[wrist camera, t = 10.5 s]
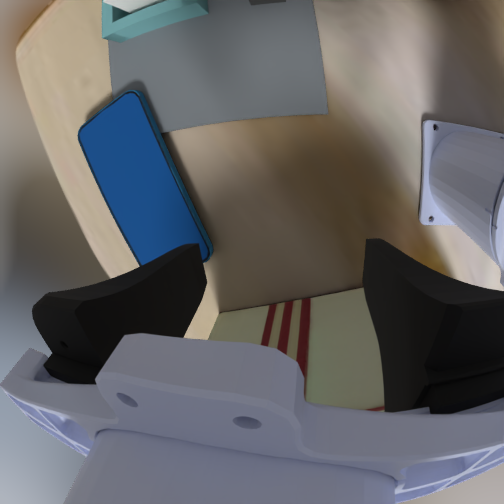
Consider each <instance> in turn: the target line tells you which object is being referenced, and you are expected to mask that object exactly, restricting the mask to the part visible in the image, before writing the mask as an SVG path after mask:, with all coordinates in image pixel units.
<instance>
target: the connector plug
mask: <svg viewBox="0 0 504 504" xmlns="http://www.w3.org/2000/svg"><path fill="white" fill-rule="evenodd" d="M164 1H167V0H103V2H104V3H107V4H110V5H112V6H115V7H117V8H120V9H122V10H125V11H127V12H129V13H132V14H133V13H135V12H137V11H140V10H142V9H145V8H147V7H150V6H153V5H155V4H158V3H161V2H164Z"/></svg>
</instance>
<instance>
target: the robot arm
mask: <svg viewBox="0 0 504 504" xmlns="http://www.w3.org/2000/svg"><path fill="white" fill-rule="evenodd" d="M434 124H435V125H436V127H437V128H436V130H434V129H433V125H434ZM422 129H423V162H422V186H421V200H420V211H419V221H420V222H421V223H422V224H423V225H457V226H458V227H459V228H460V229H461V230H462V231H464V232H465V233H466V234H467V235H468V236H469V237H470V238H471V239H472V240H473V241H474V242H475V243H476V244H477V245H478V246H479V247H480V248H481V249H482V250H483V251H484V252H485V253H486V254H487V255H488V256H489V257H490V258H491V259H492V260H493V261H494V262H495V263H496V264H497V265H498V266H499V267H500V270H501V279H500V283H501V284H502V285H503V287H504V134H502V133H498V132H493V131H489V130H485V129H480V128H475V127H470V126H465V125H460V124H454V123H448V122H441V121H434V120H425V121H424V122H423V125H422ZM500 137H501V139H500ZM430 216H432V219H431V220H428V219H429V217H430ZM362 281H363V287H364V293H365V299H366V303H367V306H368V309H369V312H370V316H371V319H372V322H373V326H374V329H375V332H376V336H377V340H378V344H379V349H380V356H381V364H382V374H383V385H384V412H378V411H368V410H359V409H351V408H343V407H336V406H330V405H323V404H317V403H312V402H306V401H305V398H304V376H303V374H302V372H301V369H300V367H299V364H298V362H296V361H295V360H293V359H292V358H290V357H288V356H287V355H285V354H284V353H282V352H281V351H279V350H278V349H276V348H272V347H267V346H262V345H258V344H253V343H246V342H227V341H212V340H200V339H188V338H183V337H184V335H185V333H186V331H187V329H188V327H189V325H190V323H191V321H192V319H193V317H194V315H195V313H196V311H197V309H198V307H199V305H200V303H201V301H202V298H203V295H204V292H205V288H206V285H207V279H206V275H205V270H204V265H203V261H202V256H201V251H200V246H199V243H191V244H184V245H181V246H179V247H177V248H175V249H173V250H171V251H169V252H167V253H165V254H163V255H161V256H159V257H157V258H156V259H154V260H152V261H150V262H148V263H146V264H144V265H142V266H140V267H138V268H136V269H134V270H132V271H129V272H127V273H125V274H122V275H120V276H117V277H115V278H112V279H109V280H106V281H103V282H100V283H97V284H93V285H89V286H85V287H81V288H76V289H71V290H65V291H58V292H49V293H47V294H45V295H44V296H43V297H42V298H41V299H40V300H39V301H38V302H37V303H36V304H35V305H34V306H33V309H32V314H33V320H34V322H35V325H36V327H37V329H38V331H39V332H40V334H41V335H42V337H43V339H44V341H45V342H46V344H47V345H48V347H49V348H50V350H51V351H52V354H51V356H50V357H49V358H48V357H47V356H46V355H45V354H43V353H41V352H39V351H36V350H34V349H32V348H29V349H28V350H27V351H26V353H25V354H24V355H23V356H22V357H21V359H20V360H19V361H18V362H17V364H16V365H15V366H14V367H13V368H12V370H11V371H10V372H9V374H8V375H7V376H6V377H5V379H4V380H3V381H2V383H1V384H0V387H1V388H2V390H3V391H4V392H5V393H6V394H7V395H8V397H9V398H10V399H11V400H12V401H13V402H14V403H15V404H16V405H17V406H18V408H20V409H21V411H22V412H23V413H24V414H25V415H26V416H27V417H28V418H29V419H30V420H31V421H32V422H33V423H34V424H36V425H38V426H39V427H41V428H42V429H43V430H45V431H47V432H48V433H49V434H51V435H52V436H54V437H55V438H57V439H59V440H60V441H62V442H63V443H65V444H66V445H68V446H69V447H71V448H73V449H74V450H76V451H78V452H79V453H81V454H83V455H84V456H86V459H85V461H84V463H83V465H82V467H81V469H80V471H79V473H78V475H77V477H76V479H75V481H74V483H73V485H72V487H71V489H70V491H69V493H68V496H67V498H66V500H65V502H64V504H397V503H401V502H405V501H408V500H412V499H416V498H419V497H422V496H426V495H428V494H432V493H435V492H438V491H441V490H443V489H446V488H449V487H451V486H454V485H456V484H459V483H461V482H464V481H466V480H469V479H471V478H473V477H475V476H478V475H480V474H482V473H484V472H486V471H488V470H490V469H492V468H494V467H496V466H498V465H500V464H502V463H504V291H498V290H492V289H487V288H482V287H479V286H475V285H471V284H468V283H464V282H461V281H459V280H456V279H453V278H450V277H448V276H445V275H443V274H441V273H439V272H437V271H435V270H432V269H430V268H428V267H427V266H425V265H423V264H421V263H419V262H418V261H416V260H414V259H413V258H411V257H409V256H408V255H406V254H405V253H403V252H402V251H400V250H398V249H397V248H395V247H394V246H392V245H391V244H389V243H388V242H386V241H384V240H382V239H366V248H365V260H364V270H363V280H362Z"/></svg>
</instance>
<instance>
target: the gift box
mask: <svg viewBox="0 0 504 504" xmlns="http://www.w3.org/2000/svg"><path fill="white" fill-rule="evenodd" d="M208 340H212V341H227V342H246V343H253V344H258V345H262V346H267V347H272V348H276V349H278V350H279V351H281V352H282V353H284V354H285V355H287V356H288V357H290V358H292V359H293V360H295V361H296V362H298V364H299V367H300V369H301V372H302V374H303V376H304V398H305V401H306V402H312V403H317V404H323V405H330V406H336V407H343V408H351V409H359V410H368V411H378V412H384V385H383V374H382V364H381V356H380V349H379V344H378V340H377V336H376V332H375V329H374V326H373V322H372V319H371V316H370V312H369V309H368V306H367V303H366V299H365V293H364V288H359V289H353V290H348V291H344V292H339V293H334V294H329V295H324V296H319V297H314V298H306V299H301V300H295V301H289V302H284V303H278V304H273V305H268V306H262V307H255V308H249V309H243V310H237V311H230V312H223V313H220V314H219V315H218V317H217V319H216V322H215V324H214V327H213V329H212V331H211V333H210V336H209V338H208Z"/></svg>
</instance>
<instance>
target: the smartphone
mask: <svg viewBox="0 0 504 504" xmlns="http://www.w3.org/2000/svg"><path fill="white" fill-rule="evenodd" d="M78 141H79V144H80V146H81V149H82V151H83V153H84V156H85V158H86V160H87V163H88V165H89V167H90V170H91V172H92V174H93V176H94V179H95V181H96V183H97V185H98V187H99V189H100V192H101V194H102V196H103V198H104V200H105V202H106V204H107V206H108V208H109V210H110V212H111V214H112V216H113V218H114V220H115V222H116V224H117V226H118V228H119V230H120V231H121V233H122V235H123V237H124V239H125V241H126V243H127V244H128V246H129V248H130V250H131V252H132V253H133V255H134V257H135V259H136V260H137V262H138V264H139V266H142V265H144V264H146V263H148V262H150V261H152V260H154V259H156V258H157V257H159V256H161V255H163V254H165V253H167V252H169V251H171V250H173V249H175V248H177V247H179V246H181V245H184V244H191V243H199V246H200V251H201V256H202V261H203V263H205V262H207V261H208V260H209V259H210V257H211V255H212V253H213V245H212V243H211V241H210V239H209V237H208V235H207V233H206V231H205V229H204V227H203V225H202V223H201V221H200V218H199V216H198V214H197V212H196V210H195V208H194V206H193V204H192V202H191V199H190V197H189V195H188V193H187V191H186V189H185V187H184V184H183V182H182V180H181V178H180V176H179V174H178V171H177V169H176V167H175V165H174V163H173V160H172V158H171V156H170V154H169V151H168V149H167V147H166V145H165V142H164V140H163V138H162V136H161V133H160V131H159V129H158V127H157V124H156V122H155V120H154V117H153V115H152V113H151V110H150V108H149V106H148V103H147V101H146V99H145V96H144V94H143V93H142V92H141V91H138V90H128V91H126V92H124V93H123V94H121V95H120V96H119V97H117V98H116V99H115V100H113V101H112V102H111V103H109V104H108V105H107V106H105V107H104V108H103V109H101V110H100V111H99V112H98V113H96V114H95V115H94V116H93V117H92V118H90V119H89V120H88V121H87V122H86V123H84V124H83V125H82V126H81V127H80V129H79V131H78Z"/></svg>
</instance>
